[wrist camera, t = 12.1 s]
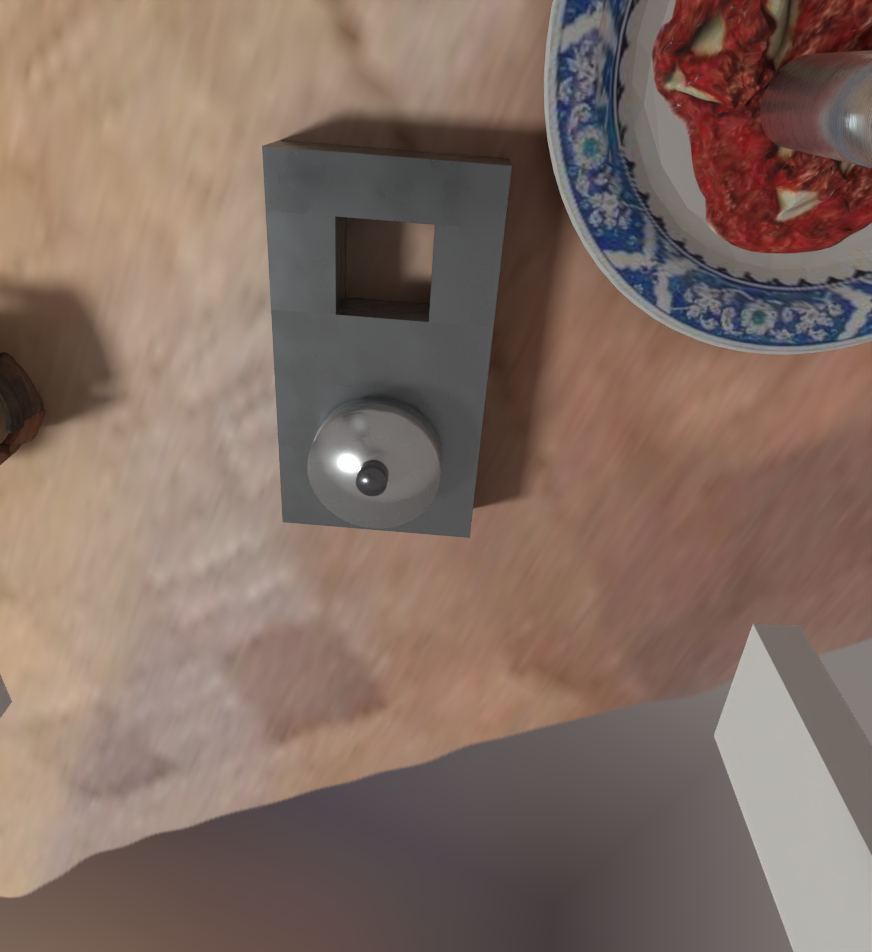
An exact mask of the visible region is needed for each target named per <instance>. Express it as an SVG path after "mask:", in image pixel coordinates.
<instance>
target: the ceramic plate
mask: <svg viewBox="0 0 872 952" xmlns="http://www.w3.org/2000/svg"><path fill="white" fill-rule="evenodd" d="M870 50H872V0H553V4H552V8H551V15H550V22H549V28H548V35H547V41H546V54H545V68H544V111H545V121H546V130H547V140H548V146H549V151H550V156H551V161H552V166H553V171H554V174H555V178H556V181H557V184H558V188H559V191H560V194H561V198H562V200H563V203H564V205H565V208H566V210H567V212H568V215H569V217H570V220H571V222H572V224H573V226H574V228H575V230H576V232H577V234H578V235H579V237H580V239H581V241H582V243H583V245H584V247H585V248H586V250H587V251H588V253H589V254H590V255H591V257H592V258H593V260H594V261H595V263H596V264H597V266H598V267H599V268H600V270H601V271H602V272H603V273H604V274H605V275H606V277H607V278H608V279H609V280H610V281H611V282H612V283H613V285H614V286H615V287H616V288H617V289H618V290H619V291H620V292H621V293H623V294H624V295H625V296H626V297H627V298H628V299H629V300H630V301H631V302H632V303H633V304H635V305H636V306H637V307H639V308H640V309H641V310H643V311H644V312H646V313H647V314H648V315H650V316H651V317H652V318H654V319H656V320H657V321H659V322H661V323H663V324H664V325H666V326H668V327H669V328H671V329H673V330H675V331H678V332H680V333H682V334H685V335H687V336H689V337H692V338H694V339H696V340H699V341H702V342H705V343H708V344H711V345H714V346H718V347H723V348H727V349H732V350H737V351H743V352H752V353H762V354H803V353H816V352H822V351H828V350H835V349H841V348H847V347H851V346H855V345H859V344H862V343H866V342H870V341H872V168H869V167H865V166H861V165H856V164H852V163H848V162H843V161H839V160H835V159H830V158H826V157H822V156H817V155H813V154H809V153H804V152H800V151H796V150H791V149H787V148H783V147H780V146H778V145H776V144H775V143H773V142H772V141H771V140H770V139H769V138H768V137H767V135H766V134H765V132H764V130H763V127H762V124H761V117H760V110H761V103H762V99H763V96H764V93H765V91H766V88H767V86H768V85H769V83H770V81H771V80H772V78H773V77H774V76H775V75H776V73H777V72H778V71H779V70H780V69H781V68H782V67H784V66H785V65H786V64H787V63H789V62H790V61H792V60H794V59H796V58H798V57H800V56H804V55H808V54H817V53H834V52H852V51H870Z"/></svg>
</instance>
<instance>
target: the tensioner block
mask: <svg viewBox="0 0 872 952" xmlns="http://www.w3.org/2000/svg"><path fill="white" fill-rule="evenodd" d="M262 149H263V168H264V186H265V204H266V223H267V241H268V259H269V277H270V296H271V314H272V332H273V351H274V369H275V387H276V406H277V424H278V442H279V461H280V479H281V497H282V515H283V522H288V523H300V524H312V525H324V526H336V527H348V528H360V529H372V530H384V531H396V532H408V533H420V534H432V535H444V536H456V537H468V538H470V530H471V521H472V512H473V503H474V495H475V486H476V477H477V468H478V459H479V451H480V442H481V433H482V424H483V416H484V407H485V398H486V389H487V380H488V372H489V363H490V354H491V345H492V336H493V328H494V319H495V310H496V301H497V293H498V284H499V275H500V266H501V257H502V249H503V240H504V231H505V222H506V213H507V205H508V196H509V187H510V178H511V170H512V165H511V163H510V160H509V159H504V158H491V157H479V156H466V155H454V154H441V153H429V152H416V151H404V150H391V149H378V148H366V147H353V146H341V145H328V144H316V143H303V142H291V141H276V142H273V143H270V144H267V145H264V146H262ZM346 217H348V218H360V219H373V220H385V221H398V222H410V223H423V224H435V233H434V248H433V264H432V280H431V295H430V305H429V304H417V303H405V302H392V301H380V300H368V299H356V298H346Z"/></svg>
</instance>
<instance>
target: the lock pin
mask: <svg viewBox="0 0 872 952" xmlns="http://www.w3.org/2000/svg"><path fill="white" fill-rule="evenodd" d="M760 117H761V124H762V127H763V130H764V132H765V134H766V135H767V137H768V138H769V139H770V140H771V141H772V142H773V143H775V144H776V145H778V146H780V147H783V148H787V149H791V150H796V151H800V152H804V153H809V154H813V155H817V156H822V157H826V158H830V159H835V160H839V161H843V162H848V163H852V164H856V165H861V166H865V167H869V168H872V50H870V51H852V52H834V53H817V54H808V55H804V56H800V57H798V58H796V59H794V60H792V61H790V62H789V63H787V64H786V65H785V66H784V67H782V68H781V69H780V70H779V71H778V72H777V73H776V75H775V76H774V77H773V78H772V80H771V81H770V83H769V85H768V86H767V88H766V91H765V93H764V96H763V99H762V103H761V110H760Z"/></svg>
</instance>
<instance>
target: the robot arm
mask: <svg viewBox="0 0 872 952" xmlns="http://www.w3.org/2000/svg"><path fill="white" fill-rule="evenodd" d="M11 702H12V701H11V698H10V696H9V694H8V691H7V689H6V687H5V684H4V682H3V680H2V677H1V675H0V718H1V716H2V715H3V713H4V712H5V711H6V709H7V708H8V707H9V705H10V704H11ZM714 737H715V740H716V742H717V745H718V748H719V751H720V753H721V756H722V759H723V761H724V764H725V767H726V770H727V772H728V775H729V778H730V780H731V783H732V786H733V789H734V791H735V794H736V797H737V799H738V802H739V805H740V808H741V810H742V813H743V816H744V819H745V821H746V824H747V827H748V829H749V832H750V835H751V837H752V840H753V843H754V846H755V848H756V851H757V854H758V856H759V859H760V862H761V865H762V867H763V870H764V873H765V876H766V878H767V880H768V884H769V886H770V889H771V892H772V895H773V897H774V900H775V903H776V905H777V908H778V911H779V914H780V916H781V919H782V922H783V924H784V927H785V930H786V933H787V935H788V938H789V941H790V943H791V946H792V949H793V952H872V745H871V744H870V742H869V740H868V739H867V737H866V735H865V734H864V732H863V730H862V729H861V727H860V725H859V724H858V722H857V720H856V719H855V717H854V715H853V713H852V712H851V710H850V708H849V707H848V705H847V703H846V702H845V700H844V698H843V697H842V695H841V693H840V692H839V690H838V688H837V687H836V685H835V683H834V682H833V680H832V678H831V677H830V675H829V673H828V671H827V670H826V668H825V667H824V665H823V663H822V662H821V660H820V658H819V656H818V655H817V653H816V651H815V650H814V648H813V646H812V645H811V643H810V641H809V639H808V638H807V636H806V634H805V633H804V631H803V629H802V628H801V626H792V625H769V624H753V625H752V628H751V631H750V634H749V637H748V640H747V642H746V645H745V648H744V651H743V654H742V657H741V660H740V662H739V665H738V668H737V671H736V674H735V677H734V680H733V683H732V686H731V689H730V691H729V694H728V697H727V700H726V703H725V705H724V708H723V711H722V714H721V717H720V720H719V723H718V726H717V728H716V731H715V734H714Z"/></svg>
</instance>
